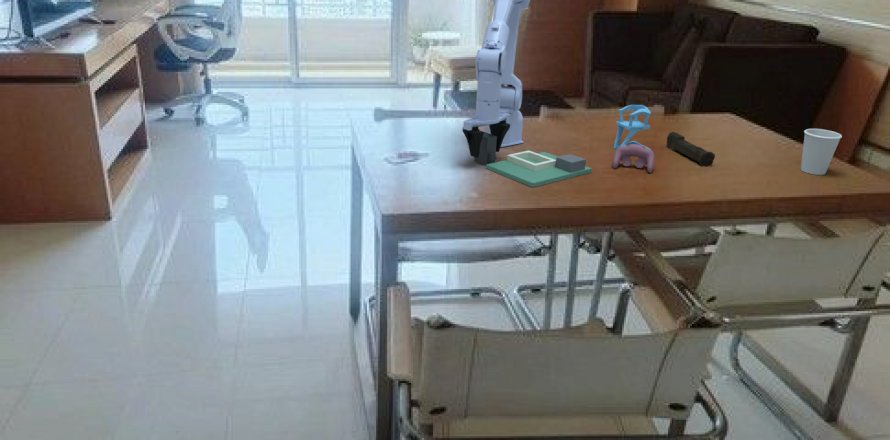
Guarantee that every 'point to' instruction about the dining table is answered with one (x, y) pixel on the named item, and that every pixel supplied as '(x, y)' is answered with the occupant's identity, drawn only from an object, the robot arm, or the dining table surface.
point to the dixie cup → (818, 150)
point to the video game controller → (638, 151)
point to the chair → (631, 124)
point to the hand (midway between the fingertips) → (485, 153)
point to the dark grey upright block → (487, 149)
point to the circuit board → (539, 167)
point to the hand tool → (689, 149)
